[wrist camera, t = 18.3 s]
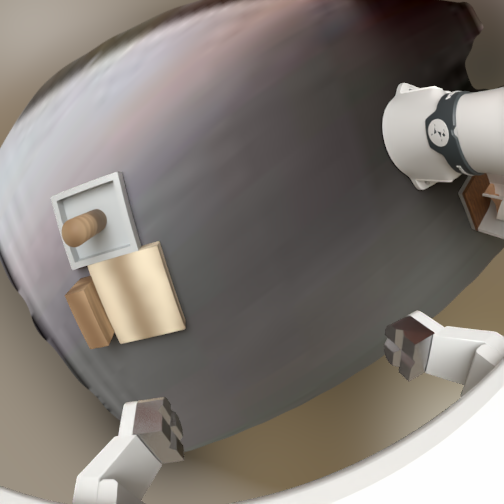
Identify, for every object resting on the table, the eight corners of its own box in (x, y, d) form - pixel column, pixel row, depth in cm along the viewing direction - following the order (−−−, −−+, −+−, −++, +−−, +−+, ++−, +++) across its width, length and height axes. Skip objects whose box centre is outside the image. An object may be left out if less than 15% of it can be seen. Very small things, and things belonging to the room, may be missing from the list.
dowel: (103, 206, 32) (80, 214, 24) (109, 228, 33) (89, 242, 25) (83, 213, 31) (58, 224, 24) (90, 235, 32) (66, 250, 25)
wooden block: (97, 273, 34) (83, 290, 29) (118, 323, 37) (108, 345, 31) (80, 278, 34) (64, 295, 28) (101, 327, 36) (90, 349, 31)
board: (159, 240, 36) (157, 245, 33) (185, 318, 39) (185, 328, 36) (94, 259, 34) (87, 266, 32) (124, 333, 38) (120, 343, 35)
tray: (122, 171, 32) (117, 171, 30) (141, 245, 35) (138, 250, 33) (58, 195, 30) (50, 197, 28) (78, 264, 33) (72, 270, 31)
